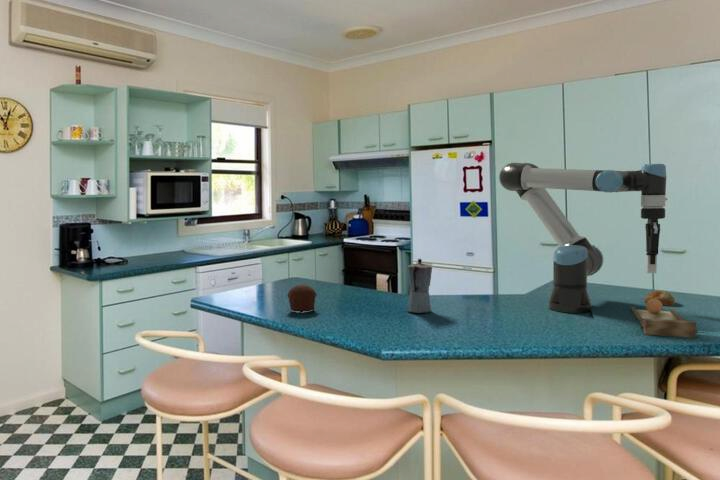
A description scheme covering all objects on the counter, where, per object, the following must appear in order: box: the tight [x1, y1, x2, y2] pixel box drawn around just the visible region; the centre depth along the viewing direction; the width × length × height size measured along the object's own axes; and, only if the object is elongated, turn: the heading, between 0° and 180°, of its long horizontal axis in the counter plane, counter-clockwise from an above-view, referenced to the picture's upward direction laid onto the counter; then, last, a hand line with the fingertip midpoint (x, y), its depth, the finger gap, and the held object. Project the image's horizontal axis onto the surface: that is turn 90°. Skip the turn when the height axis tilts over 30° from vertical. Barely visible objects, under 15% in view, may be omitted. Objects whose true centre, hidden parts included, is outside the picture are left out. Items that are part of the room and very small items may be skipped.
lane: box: [630, 306, 697, 339], centre depth 163 cm, size 13×29×4 cm, turn 159°
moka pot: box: [406, 258, 433, 314], centre depth 187 cm, size 10×15×20 cm, turn 164°
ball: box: [645, 299, 664, 313], centre depth 173 cm, size 5×5×5 cm
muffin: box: [286, 284, 318, 312], centre depth 193 cm, size 12×11×10 cm
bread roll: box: [644, 289, 676, 307], centre depth 188 cm, size 10×10×8 cm
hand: (651, 272), depth 179 cm, fingers closed
